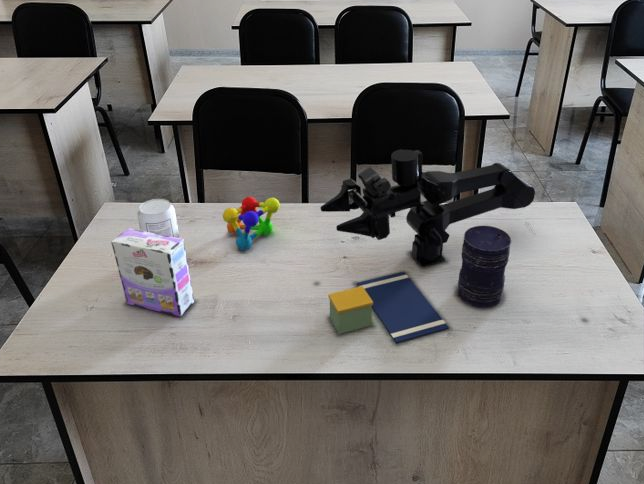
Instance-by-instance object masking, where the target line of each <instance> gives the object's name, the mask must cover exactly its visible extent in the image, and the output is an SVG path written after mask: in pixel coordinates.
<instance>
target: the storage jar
mask: <svg viewBox="0 0 644 484" xmlns="http://www.w3.org/2000/svg"><path fill="white" fill-rule="evenodd" d="M511 244H512V238H511V236H510V235H509V234H508V233H507V231H504V230H503V229H501V228H498V227H496V226H492V225H475V226H472V227H469V228H468V229H467V230H466V231H465V232H464V234H463V242H462V245H461V246H462V247H461V268H460V270H459V273H458V280H457V285H458V286H457V296H458V298H459V299H460V300H461V301H462V302H463V303H464V304H466V305H468V306H470V307H473V308H478V309H490V308H493V307H495V306H497V305H498V304H500V302H501V301H502V298H503V292H504V289H505V281H506V275H505V273H506V267H507V265H508V263H509V258H510V253H511V250H510V249H511Z"/></svg>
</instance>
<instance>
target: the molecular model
mask: <svg viewBox="0 0 644 484" xmlns="http://www.w3.org/2000/svg"><path fill="white" fill-rule="evenodd" d="M257 208H261V209H259V210H257ZM280 208H281V203H280V201H279V200H278V199H277V198H275V197H268V198H267V199H266V200H265V202H262V201H261V202H260V201H257V200H256V198H255V197H252V196H247V197H244V198H243V199H242V201H241V205H240V206H239V207H237V208H234V207H228V208H226V209H224V211H223V213H222V219H223V221H224V222H225V223H226V224H227V225H226V229H227V231H228V232H229V233H230V234H231V235H236V236H237V238H236V240H235V244H236V247H237V248H238V249H239V250H241V251H247V250H249V249H250V248H251V247H252V245H253V240H255V239H256V238H257V237H259V236H260V235H262V236H269V235H271V234H272V233H273V231H274V226H273V223H272V222H271V221H272V217H273V214H276V213H277V212H278V211H279V210H280ZM264 214H266V216H265V219H263V218H262V216H263V215H264ZM242 230H243V232H242ZM251 231H254V232H253V233H251V234H250V232H251Z"/></svg>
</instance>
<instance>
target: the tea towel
mask: <svg viewBox="0 0 644 484" xmlns="http://www.w3.org/2000/svg"><path fill="white" fill-rule="evenodd" d="M360 286H363V288H364V289H365V291H366V292H367V294H368V295H369V297H370V298H371V300H372V301H373V305H372V311H374V313H375V314H376V315H377V318H378V319H379V320H380V322H381V323H382V325H383V327H384V328H385V329H386V331H387V332H388V334H389V335H390V337H391V339H392V340H393V342H394V343H395V344H399V343H400V344H401V343H404V342H407V341H411V340H414V339H418V338H421V337H425V336H428V335H432V334H436V333H440V332H442V331H445V330H449V329H450V327H449V326H448V324H447V323H446V321H445V320H444V319H443V318H442V316H440V314H439V313H438V312H437V310H436V309H435V308H434V307H433V305H432V304H431V302H429V300H428V299H427V298H426V297H425V295H424V294H423V293H422V292H421V291H420V289H419V288H418V287H417V285H416V284H415V283H414V281H412V279H411V277H410V276H409V275H408V274H407V272H405V271H400V272H396V273H392V274H387V275H383V276H379V277H375V278H371V279H370V278H369V279H367V280H363V281H359V282H356V287H360Z"/></svg>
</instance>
